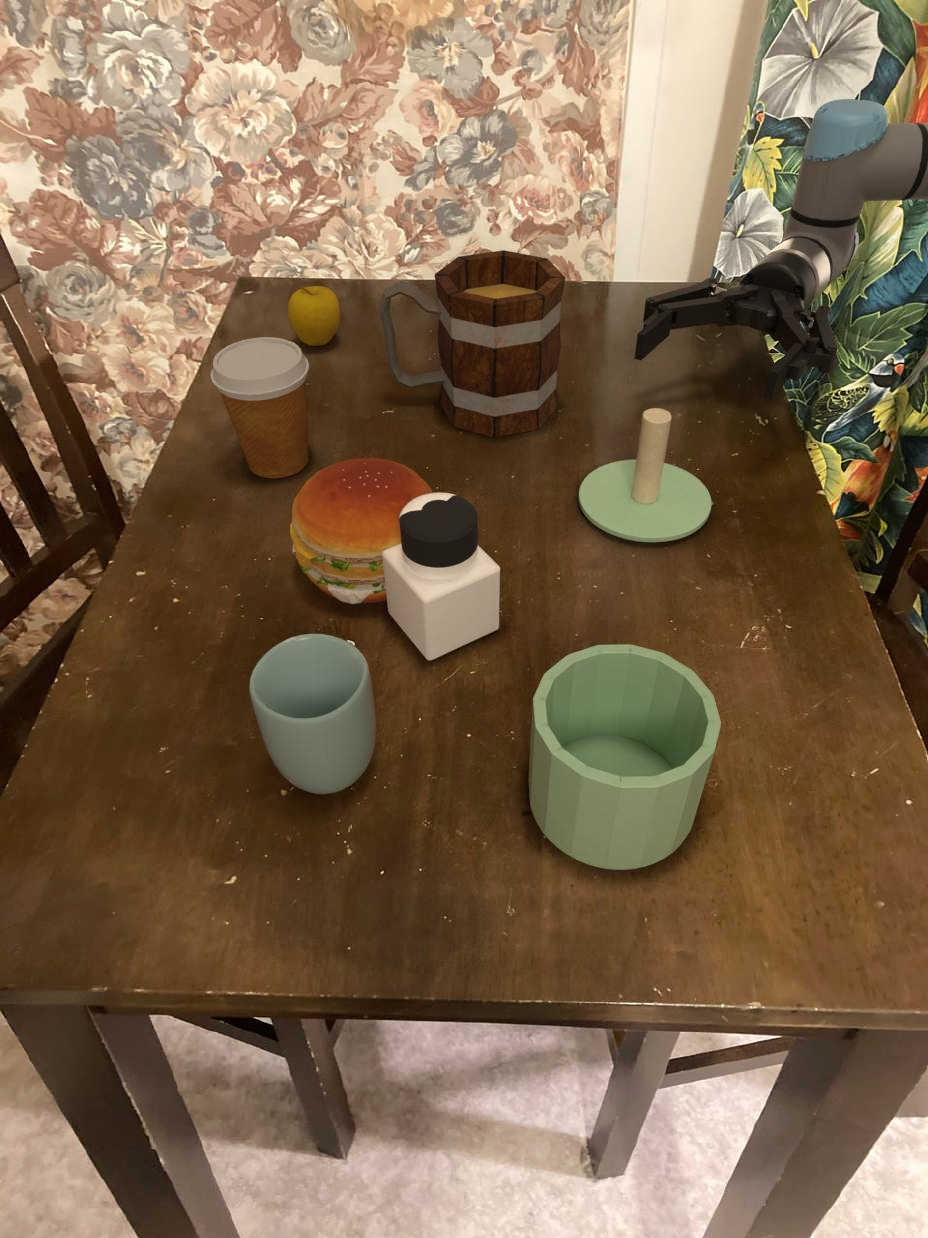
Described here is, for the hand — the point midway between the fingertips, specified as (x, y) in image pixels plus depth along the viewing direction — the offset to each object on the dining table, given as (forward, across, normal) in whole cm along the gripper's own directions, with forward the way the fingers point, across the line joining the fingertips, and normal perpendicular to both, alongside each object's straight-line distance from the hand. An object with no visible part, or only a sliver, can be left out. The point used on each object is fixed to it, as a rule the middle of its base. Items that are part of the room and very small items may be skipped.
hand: (702, 365), depth 83 cm
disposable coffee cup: (+24, +36, -11) cm, 44 cm away
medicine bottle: (+34, +7, -11) cm, 36 cm away
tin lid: (+10, 0, -10) cm, 14 cm away
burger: (+32, +17, -11) cm, 38 cm away
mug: (+3, +25, -11) cm, 27 cm away
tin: (+42, -14, -10) cm, 45 cm away
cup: (+51, +5, -11) cm, 52 cm away
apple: (+2, +50, -11) cm, 51 cm away
